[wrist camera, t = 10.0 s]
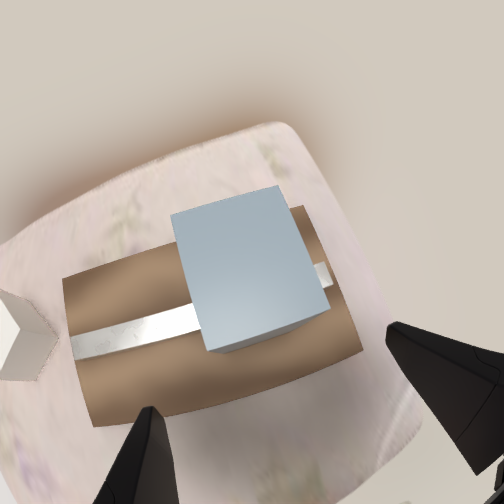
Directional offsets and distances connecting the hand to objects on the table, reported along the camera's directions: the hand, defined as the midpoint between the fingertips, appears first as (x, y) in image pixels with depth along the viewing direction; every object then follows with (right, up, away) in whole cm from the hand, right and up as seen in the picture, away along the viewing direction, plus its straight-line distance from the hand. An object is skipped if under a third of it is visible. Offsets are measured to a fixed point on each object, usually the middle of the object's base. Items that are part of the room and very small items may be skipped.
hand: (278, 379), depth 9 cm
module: (-2, 0, +13) cm, 13 cm away
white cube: (-23, -5, +12) cm, 27 cm away
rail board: (-5, -1, +14) cm, 15 cm away
